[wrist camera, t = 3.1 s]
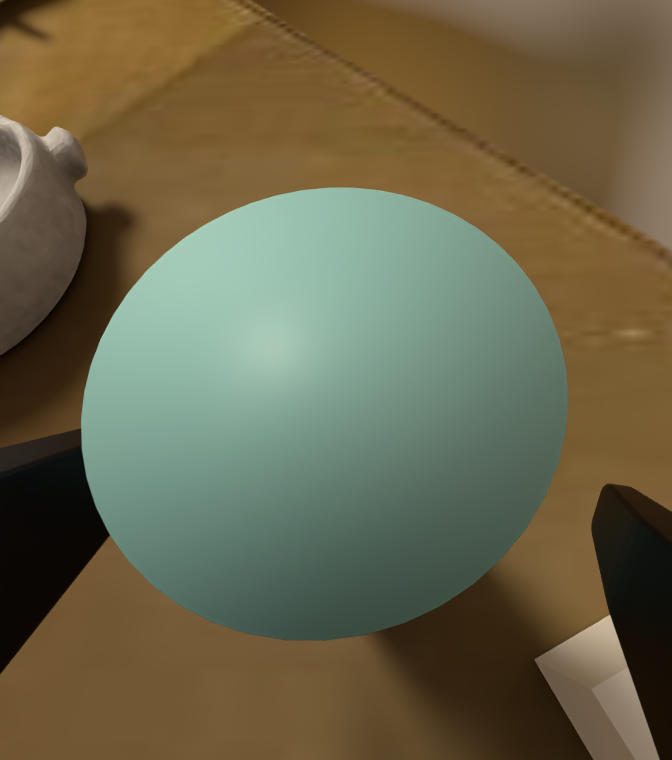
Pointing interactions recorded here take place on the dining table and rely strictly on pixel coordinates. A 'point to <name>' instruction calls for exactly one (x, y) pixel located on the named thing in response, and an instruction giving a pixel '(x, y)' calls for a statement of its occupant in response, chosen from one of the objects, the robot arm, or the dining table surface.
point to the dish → (37, 225)
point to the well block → (599, 694)
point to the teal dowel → (324, 414)
